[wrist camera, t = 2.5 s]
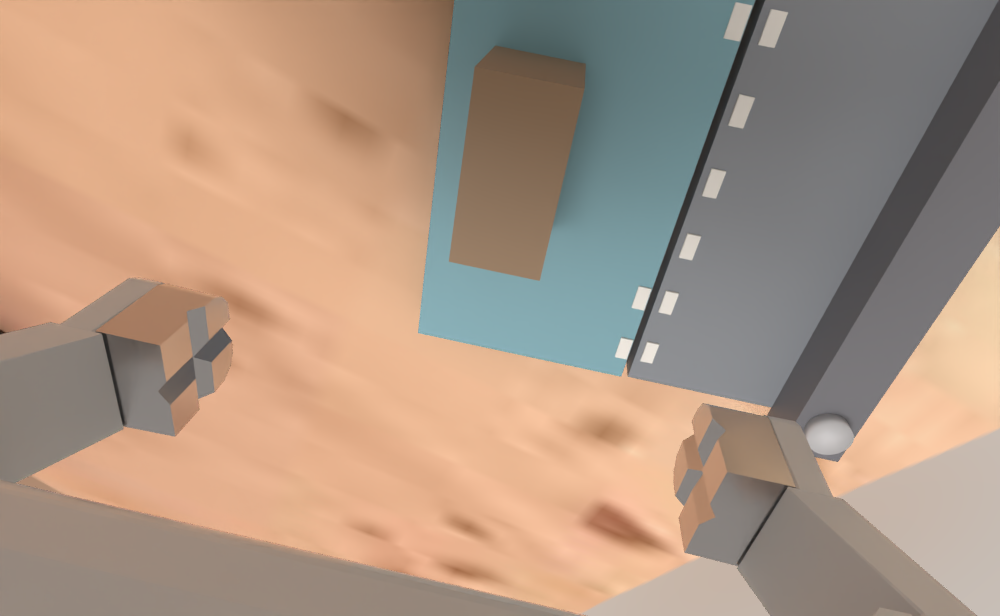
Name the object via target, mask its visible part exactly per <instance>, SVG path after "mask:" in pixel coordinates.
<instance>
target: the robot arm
mask: <svg viewBox="0 0 1000 616" xmlns="http://www.w3.org/2000/svg"><path fill="white" fill-rule="evenodd" d="M229 320H230V315H229V308H228V302H227V301H226V300H225V299H223V298H222V297H220V296H216V295H212V294H208V293H204V292H200V291H196V290H192V289H187V288H183V287H179V286H175V285H171V284H164V283H162V282H158V281H153V280H149V279H144V278H140V277H138V278H129V279H127V280H126V281H124V282H123V283H121V284H120V285H118V286H117V287H115V288H114V289H112V290H111V291H109V292H108V293H106V294H105V295H103V296H102V297H100V298H99V299H97V300H96V301H94V302H93V303H91V304H90V305H88V306H87V307H85V308H84V309H82V310H81V311H79V312H78V313H76V314H75V315H73V316H72V317H70V318H69V319H67V320H66V321H64V322H63V323H61V324H56V323H52V322H50V323H46V324H42V325H37V326H33V327H29V328H25V329H21V330H17V331H13V332H8V333H4V334H0V616H586V615H582V614H577V613H573V612H569V611H565V610H560V609H556V608H552V607H547V606H543V605H539V604H534V603H530V602H526V601H522V600H517V599H513V598H509V597H504V596H500V595H496V594H492V593H487V592H483V591H479V590H474V589H470V588H466V587H461V586H457V585H453V584H448V583H444V582H440V581H436V580H431V579H427V578H423V577H418V576H414V575H410V574H405V573H401V572H397V571H392V570H388V569H384V568H379V567H375V566H371V565H366V564H362V563H358V562H353V561H349V560H345V559H341V558H336V557H332V556H328V555H323V554H319V553H315V552H310V551H306V550H302V549H297V548H293V547H289V546H284V545H280V544H276V543H271V542H267V541H263V540H258V539H254V538H250V537H246V536H241V535H237V534H233V533H228V532H224V531H220V530H215V529H211V528H207V527H202V526H198V525H194V524H189V523H185V522H181V521H176V520H172V519H168V518H164V517H159V516H155V515H151V514H146V513H142V512H138V511H133V510H129V509H125V508H120V507H116V506H112V505H107V504H103V503H99V502H94V501H90V500H86V499H82V498H77V497H73V496H69V495H64V494H60V493H56V492H51V491H47V490H42V489H38V488H34V487H30V486H25V485H21V484H17V483H16V482H18V481H20V480H22V479H24V478H26V477H28V476H30V475H32V474H34V473H36V472H38V471H40V470H42V469H44V468H46V467H48V466H50V465H52V464H54V463H56V462H58V461H60V460H62V459H64V458H66V457H68V456H70V455H72V454H74V453H76V452H78V451H80V450H82V449H84V448H86V447H88V446H90V445H92V444H94V443H96V442H98V441H100V440H102V439H104V438H106V437H108V436H110V435H112V434H114V433H116V432H118V431H120V430H122V429H123V426H125V427H130V428H135V429H140V430H145V431H150V432H155V433H160V434H165V435H170V436H176V435H177V434H178V433H179V432H180V431H181V430H182V429H183V427H184V426H185V425H186V424H187V423H188V422H189V421H190V420H191V418H192V417H193V416H194V415H195V414H196V413H197V412H198V411H199V401H198V399H199V398H201V397H204V396H206V395H209V394H211V393H214V392H215V391H216V390H217V389H218V388H219V386H220V385H221V384H222V383H223V382H224V380H225V378H226V375H227V373H228V371H229V369H230V366H231V361H232V354H233V349H232V340H231V339H230V337H229V336H228V335H227V333H226V332H225V331H224V330H223V327H224V325H225V324H226V323H227V322H228V321H229ZM692 424H693V429H694V435H692V436H690V437H689V438H687V439H685V440H683V442H682V444H681V447H680V449H679V451H678V454H677V457H676V462H675V467H674V490H675V496H676V497H677V498H678V500H679V501H680V502H681V503H682V504H683V505H684V508H683V510H682V512H681V514H680V516H679V523H680V529H681V535H682V541H683V547H684V552H685V553H688V554H692V555H696V556H700V557H704V558H709V559H712V560H716V561H720V562H724V563H728V564H731V565H736V566H738V568H737V569H738V571H739V572H740V573H741V575H742V576H743V578H744V579H745V580H746V582H747V583H748V585H749V586H750V587H751V589H752V590H753V592H754V593H755V594H756V596H757V597H758V599H759V600H760V602H761V603H762V604H763V606H764V607H765V609H766V610H767V611H768V613H769V614H770V616H977V615H976V614H975V613H973V612H972V611H971V610H970V609H969V608H968V607H966V606H965V605H964V604H963V603H962V602H961V601H960V600H958V599H957V598H956V597H955V596H954V595H953V594H951V593H950V592H949V591H948V590H947V589H946V588H945V587H943V586H942V585H941V584H940V583H939V582H938V581H936V580H935V579H934V578H933V577H932V576H931V575H930V574H928V573H927V572H926V571H925V570H924V569H923V568H922V567H920V566H919V565H918V564H917V563H916V562H915V561H914V560H912V559H911V558H910V557H909V556H908V555H907V554H906V553H904V552H903V551H902V550H901V549H900V548H899V547H897V546H896V545H895V544H894V543H893V542H892V541H890V540H889V539H888V538H887V537H886V536H885V535H884V534H882V533H881V532H880V531H879V530H878V529H877V528H876V527H874V526H873V525H872V524H871V523H870V522H869V521H868V520H866V519H865V518H864V517H863V516H862V515H861V514H859V513H858V512H857V511H856V510H855V509H854V508H852V507H851V506H850V505H849V504H848V503H847V502H846V501H844V500H843V499H840V498H836V497H833V496H832V493H831V491H830V489H829V487H828V485H827V483H826V480H825V478H824V476H823V474H822V472H821V470H820V467H819V465H818V463H817V461H816V459H815V456H814V454H813V452H812V450H811V448H810V446H809V443H808V441H807V439H806V437H805V435H804V433H803V430H802V428H801V426H800V425H799V424H797V423H796V422H795V421H792V420H786V419H781V418H776V417H770V416H765V415H764V416H761V415H756V414H751V413H746V412H742V411H737V410H732V409H728V408H723V407H718V406H713V405H709V404H704V403H703V404H702V405H701V406H700V407H699V408H698V410H697V411H696V414H695V416H694V418H693V420H692Z"/></svg>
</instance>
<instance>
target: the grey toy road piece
mask: <svg viewBox="0 0 1000 616" xmlns="http://www.w3.org/2000/svg"><path fill="white" fill-rule="evenodd" d="M999 226H1000V0H755V3H754V6H753V8H752V11H751V14H750V17H749V20H748V22H747V25H746V28H745V31H744V34H743V36H742V39H741V42H740V45H739V48H738V50H737V53H736V56H735V59H734V62H733V64H732V67H731V70H730V73H729V76H728V78H727V81H726V84H725V87H724V90H723V92H722V95H721V98H720V101H719V104H718V106H717V109H716V112H715V115H714V118H713V120H712V123H711V126H710V129H709V132H708V134H707V137H706V140H705V143H704V146H703V149H702V151H701V154H700V157H699V160H698V163H697V165H696V168H695V171H694V174H693V177H692V179H691V182H690V185H689V188H688V191H687V193H686V196H685V199H684V202H683V205H682V207H681V210H680V213H679V216H678V219H677V221H676V224H675V227H674V230H673V233H672V235H671V238H670V241H669V244H668V247H667V249H666V252H665V255H664V258H663V261H662V263H661V266H660V269H659V272H658V275H657V277H656V280H655V283H654V286H653V289H652V291H651V294H650V297H649V300H648V303H647V305H646V308H645V311H644V314H643V317H642V319H641V322H640V325H639V328H638V331H637V333H636V336H635V339H634V342H633V345H632V347H631V350H630V353H629V356H628V359H627V373H628V377H632V378H637V379H641V380H646V381H651V382H655V383H660V384H665V385H669V386H674V387H679V388H683V389H688V390H693V391H697V392H702V393H707V394H711V395H716V396H720V397H725V398H730V399H734V400H739V401H744V402H748V403H753V404H758V405H762V406H767V407H772V408H771V409H770V411H769V413H768V415H767V416H770V417H776V418H781V419H786V420H792V421H795V422H796V423H797V424H799V425H800V426H801V428H802V430H803V433H804V435H805V437H806V439H807V441H808V443H809V446H810V448H811V450H812V452H813V454H814V456H815V457H818V458H822V459H827V460H832V461H836V462H838V461H839V460H840V458H841V457H842V455H843V454H844V452H845V451H846V449H848V448H849V447H850V446H851V444H852V443H853V440H854V438H855V436H856V435H857V433H858V432H859V430H860V429H861V427H862V426H863V425H864V423H865V422H866V420H867V419H868V417H869V416H870V414H871V413H872V411H873V410H874V409H875V407H876V406H877V404H878V403H879V401H880V400H881V398H882V397H883V395H884V394H885V392H886V391H887V390H888V388H889V387H890V385H891V384H892V382H893V381H894V379H895V378H896V376H897V375H898V374H899V372H900V371H901V369H902V368H903V366H904V365H905V363H906V362H907V360H908V359H909V357H910V356H911V355H912V353H913V352H914V350H915V349H916V347H917V346H918V344H919V343H920V341H921V340H922V339H923V337H924V336H925V334H926V333H927V331H928V330H929V328H930V327H931V325H932V324H933V322H934V321H935V320H936V318H937V317H938V315H939V314H940V312H941V311H942V309H943V308H944V306H945V305H946V304H947V302H948V301H949V299H950V298H951V296H952V295H953V293H954V292H955V290H956V289H957V287H958V286H959V285H960V283H961V282H962V280H963V279H964V277H965V276H966V274H967V273H968V271H969V270H970V269H971V267H972V266H973V264H974V263H975V261H976V260H977V258H978V257H979V255H980V254H981V252H982V251H983V250H984V248H985V247H986V245H987V244H988V242H989V241H990V239H991V238H992V236H993V235H994V234H995V232H996V231H997V229H998V228H999Z"/></svg>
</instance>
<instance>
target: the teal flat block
mask: <svg viewBox="0 0 1000 616" xmlns="http://www.w3.org/2000/svg"><path fill="white" fill-rule="evenodd" d="M754 3H755V0H454V8H453V17H452V27H451V36H450V45H449V54H448V63H447V72H446V82H445V91H444V100H443V109H442V118H441V127H440V137H439V146H438V155H437V164H436V173H435V182H434V192H433V201H432V210H431V219H430V228H429V237H428V247H427V256H426V265H425V274H424V283H423V292H422V302H421V311H420V320H419V329H418V333H421V334H425V335H430V336H435V337H439V338H444V339H449V340H453V341H458V342H463V343H467V344H472V345H476V346H481V347H486V348H490V349H495V350H500V351H504V352H509V353H514V354H518V355H523V356H528V357H532V358H537V359H542V360H546V361H551V362H556V363H560V364H565V365H570V366H574V367H579V368H584V369H588V370H593V371H598V372H602V373H607V374H611V375H616V376H621V375H622V373H623V370H624V367H625V364H626V361H627V359H628V356H629V353H630V350H631V347H632V345H633V342H634V339H635V336H636V333H637V331H638V328H639V325H640V322H641V319H642V317H643V314H644V311H645V308H646V305H647V303H648V300H649V297H650V294H651V291H652V289H653V286H654V283H655V280H656V277H657V275H658V272H659V269H660V266H661V263H662V261H663V258H664V255H665V252H666V249H667V247H668V244H669V241H670V238H671V235H672V233H673V230H674V227H675V224H676V221H677V219H678V216H679V213H680V210H681V207H682V205H683V202H684V199H685V196H686V193H687V191H688V188H689V185H690V182H691V179H692V177H693V174H694V171H695V168H696V165H697V163H698V160H699V157H700V154H701V151H702V149H703V146H704V143H705V140H706V137H707V134H708V132H709V129H710V126H711V123H712V120H713V118H714V115H715V112H716V109H717V106H718V104H719V101H720V98H721V95H722V92H723V90H724V87H725V84H726V81H727V78H728V76H729V73H730V70H731V67H732V64H733V62H734V59H735V56H736V53H737V50H738V48H739V45H740V42H741V39H742V36H743V34H744V31H745V28H746V25H747V22H748V20H749V17H750V14H751V11H752V8H753V6H754Z"/></svg>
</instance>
